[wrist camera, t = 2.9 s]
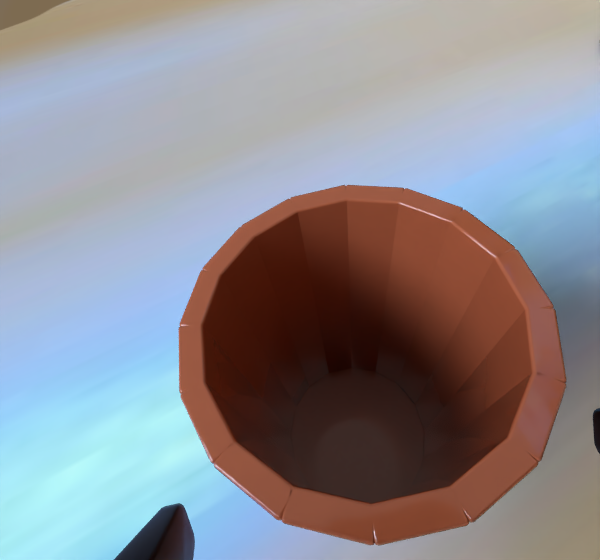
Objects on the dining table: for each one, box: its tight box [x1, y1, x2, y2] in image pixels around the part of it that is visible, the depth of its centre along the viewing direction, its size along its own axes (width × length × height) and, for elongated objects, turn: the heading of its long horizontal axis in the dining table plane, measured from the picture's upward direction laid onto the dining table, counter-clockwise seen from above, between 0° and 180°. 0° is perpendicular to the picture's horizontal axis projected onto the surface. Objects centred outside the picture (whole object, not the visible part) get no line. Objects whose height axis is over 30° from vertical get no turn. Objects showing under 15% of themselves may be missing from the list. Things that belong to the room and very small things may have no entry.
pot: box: [179, 185, 566, 545], centre depth 12 cm, size 7×7×12 cm
